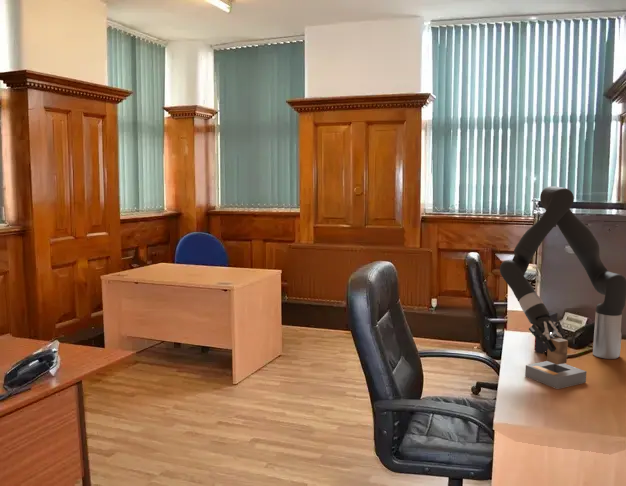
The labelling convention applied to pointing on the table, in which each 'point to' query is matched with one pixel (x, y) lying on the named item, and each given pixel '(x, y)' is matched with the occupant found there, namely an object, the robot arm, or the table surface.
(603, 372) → the table surface
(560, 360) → the walnut peg
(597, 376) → the table surface
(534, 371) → the socket block
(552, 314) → the black slab
